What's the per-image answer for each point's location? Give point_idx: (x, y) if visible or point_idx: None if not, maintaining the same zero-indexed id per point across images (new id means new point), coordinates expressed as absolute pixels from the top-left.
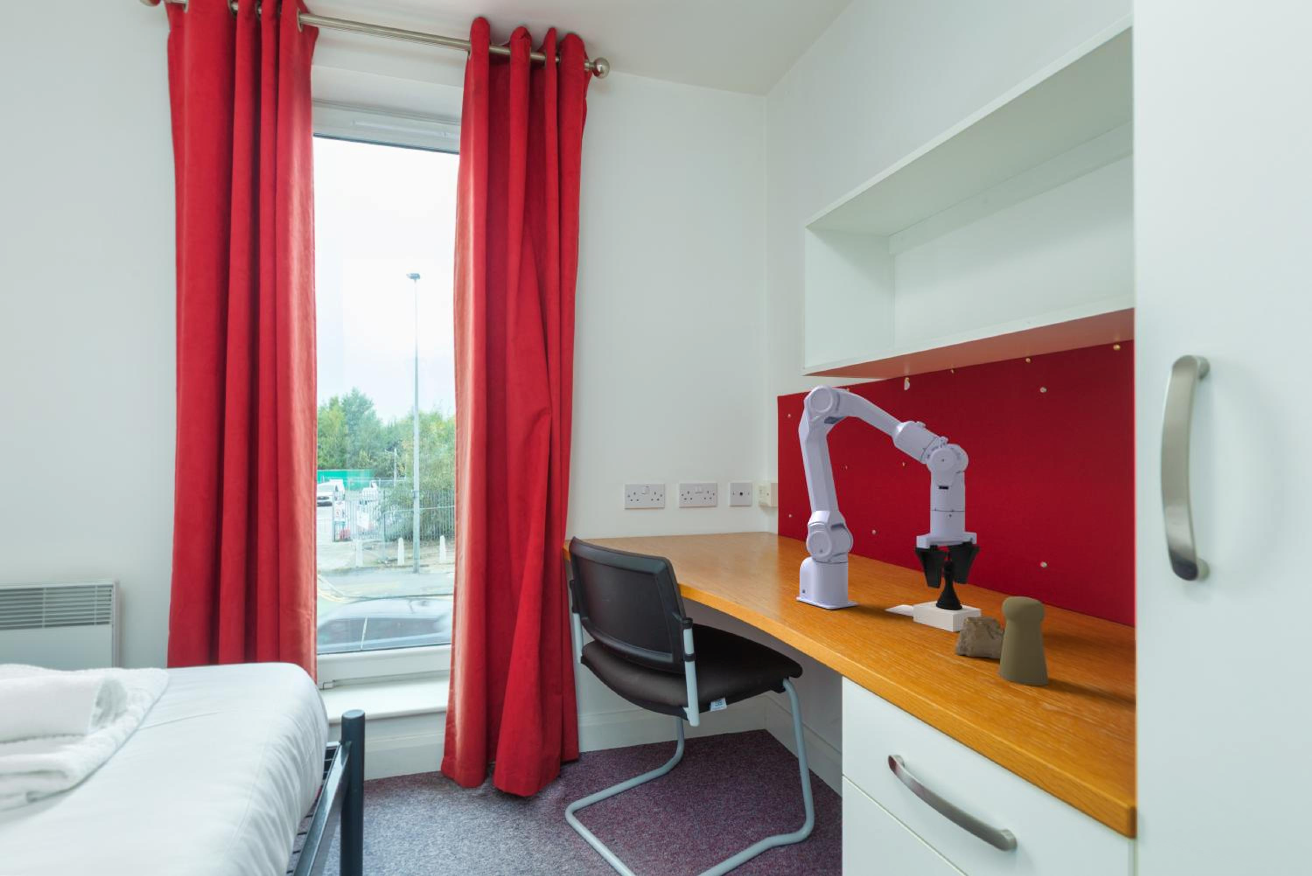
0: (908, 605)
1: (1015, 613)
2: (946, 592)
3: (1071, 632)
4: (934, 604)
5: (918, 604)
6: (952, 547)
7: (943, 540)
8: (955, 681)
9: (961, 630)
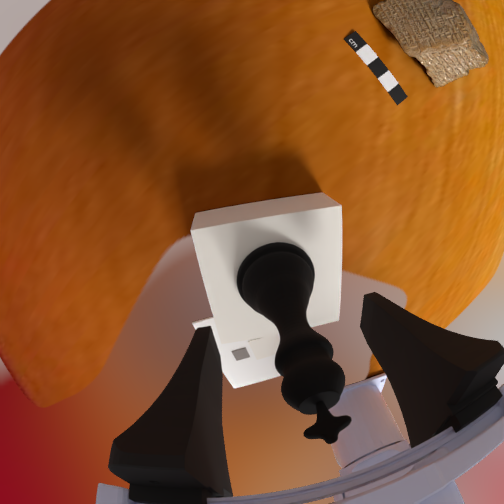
0: (230, 382)
1: None
2: (307, 299)
3: (28, 112)
4: None
5: (325, 321)
6: (225, 485)
7: (486, 434)
8: (491, 37)
9: (467, 72)
